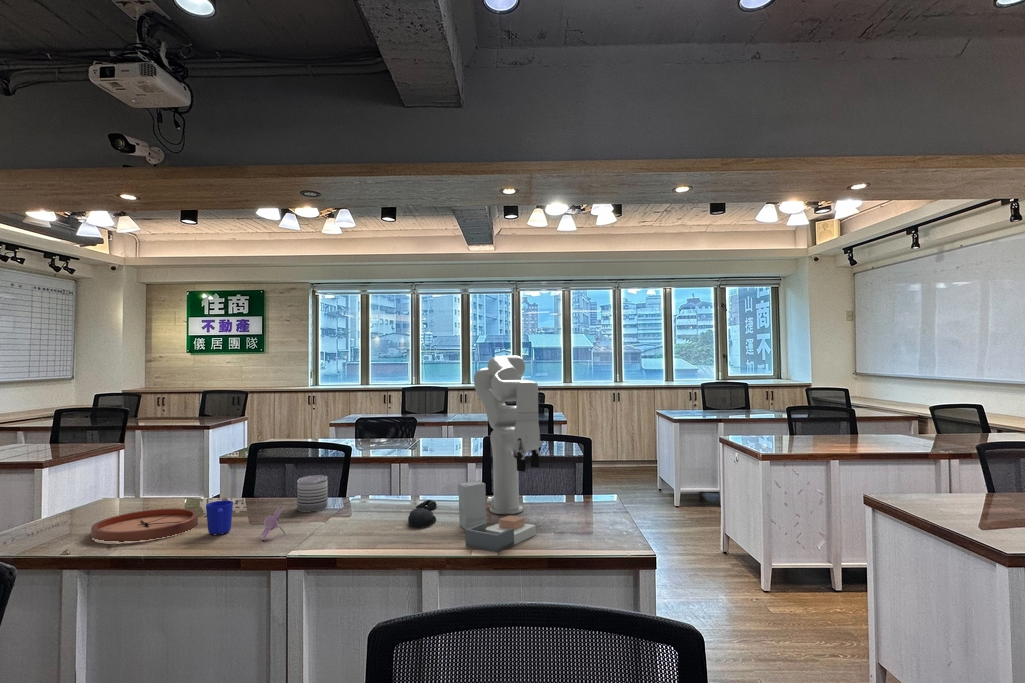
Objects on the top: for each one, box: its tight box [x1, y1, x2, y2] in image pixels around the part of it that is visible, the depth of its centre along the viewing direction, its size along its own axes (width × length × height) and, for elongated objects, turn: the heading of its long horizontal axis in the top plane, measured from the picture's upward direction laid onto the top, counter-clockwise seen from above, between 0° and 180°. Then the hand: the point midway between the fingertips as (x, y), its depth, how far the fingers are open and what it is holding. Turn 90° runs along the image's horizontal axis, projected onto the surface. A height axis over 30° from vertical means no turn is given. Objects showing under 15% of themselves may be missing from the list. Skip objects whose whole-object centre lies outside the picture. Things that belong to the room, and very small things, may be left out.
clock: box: [90, 507, 199, 542], centre depth 206 cm, size 31×4×31 cm
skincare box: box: [457, 480, 487, 530], centre depth 205 cm, size 8×6×15 cm
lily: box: [260, 506, 286, 541], centre depth 196 cm, size 12×12×10 cm
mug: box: [205, 500, 234, 535], centre depth 199 cm, size 8×12×10 cm
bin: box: [464, 522, 514, 554], centre depth 183 cm, size 12×9×5 cm
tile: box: [498, 514, 526, 530], centre depth 193 cm, size 6×6×2 cm
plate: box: [486, 522, 537, 546], centre depth 192 cm, size 12×12×3 cm
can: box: [296, 474, 329, 513], centre depth 233 cm, size 11×11×12 cm
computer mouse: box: [407, 499, 438, 529], centre depth 219 cm, size 9×32×6 cm, turn 2°
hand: (528, 468), depth 202 cm, fingers open, 7 cm apart
